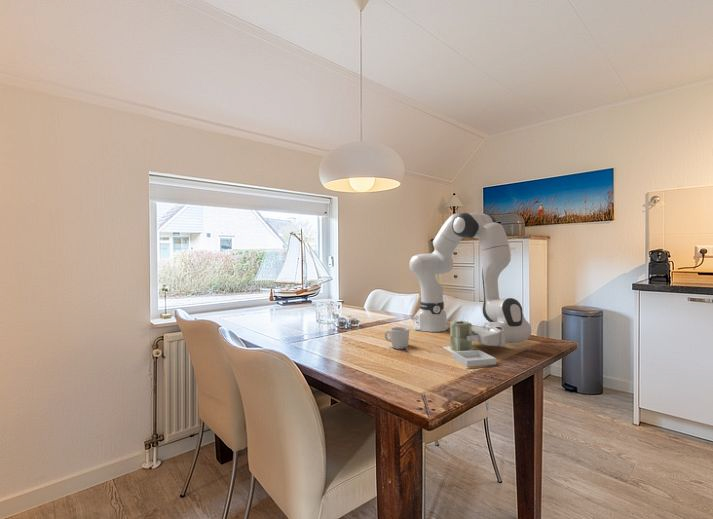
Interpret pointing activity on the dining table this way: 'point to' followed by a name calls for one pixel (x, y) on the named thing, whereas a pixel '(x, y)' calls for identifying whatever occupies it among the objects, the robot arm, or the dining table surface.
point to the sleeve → (460, 336)
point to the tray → (474, 358)
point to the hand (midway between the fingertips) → (460, 335)
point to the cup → (398, 337)
